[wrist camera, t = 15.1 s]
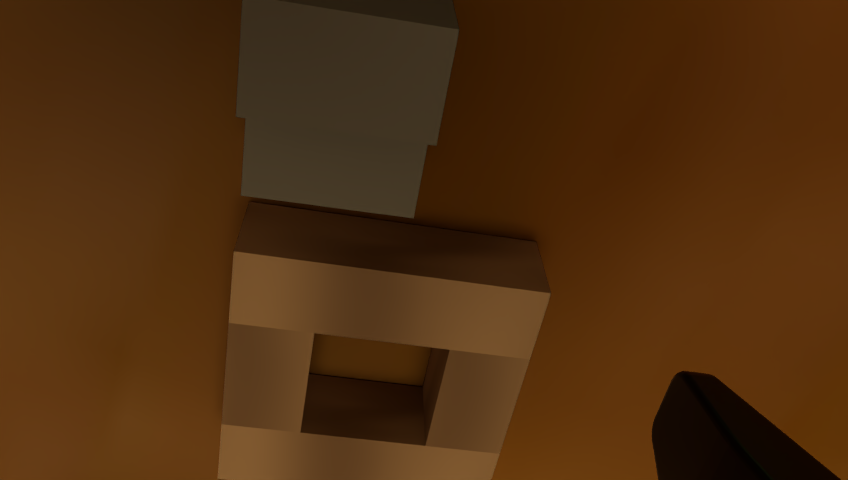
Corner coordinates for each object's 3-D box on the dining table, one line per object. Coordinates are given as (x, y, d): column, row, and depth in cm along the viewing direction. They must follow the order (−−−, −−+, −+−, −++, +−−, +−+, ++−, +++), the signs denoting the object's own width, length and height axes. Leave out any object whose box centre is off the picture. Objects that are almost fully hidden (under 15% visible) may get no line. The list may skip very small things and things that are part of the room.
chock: (410, 161, 21) (415, 252, 18) (258, 140, 21) (229, 229, 17) (445, -29, 19) (459, 29, 15) (273, -58, 18) (242, -6, 15)
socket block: (536, 242, 23) (551, 293, 21) (476, 444, 27) (483, 504, 25) (249, 201, 22) (233, 251, 20) (232, 417, 26) (217, 478, 24)
